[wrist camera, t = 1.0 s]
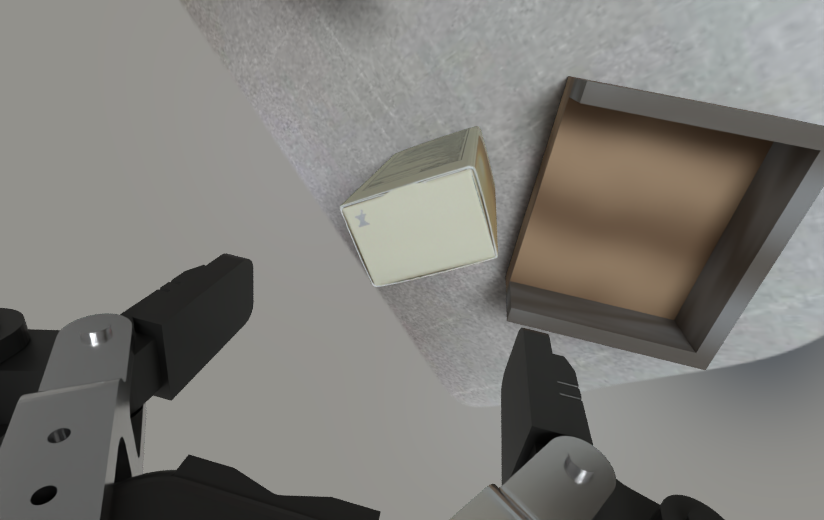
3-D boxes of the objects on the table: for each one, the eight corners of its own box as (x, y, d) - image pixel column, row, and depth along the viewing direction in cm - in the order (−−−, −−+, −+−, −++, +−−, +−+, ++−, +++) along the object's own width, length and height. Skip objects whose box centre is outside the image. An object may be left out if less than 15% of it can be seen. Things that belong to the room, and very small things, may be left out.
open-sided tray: (568, 76, 25) (587, 80, 20) (778, 116, 24) (858, 133, 19) (505, 276, 31) (506, 320, 26) (669, 315, 30) (705, 370, 25)
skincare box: (413, 209, 31) (366, 292, 20) (393, 152, 29) (329, 207, 18) (501, 185, 29) (502, 262, 18) (484, 122, 27) (473, 164, 16)
